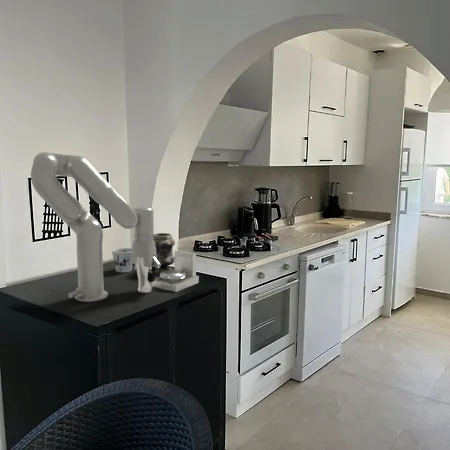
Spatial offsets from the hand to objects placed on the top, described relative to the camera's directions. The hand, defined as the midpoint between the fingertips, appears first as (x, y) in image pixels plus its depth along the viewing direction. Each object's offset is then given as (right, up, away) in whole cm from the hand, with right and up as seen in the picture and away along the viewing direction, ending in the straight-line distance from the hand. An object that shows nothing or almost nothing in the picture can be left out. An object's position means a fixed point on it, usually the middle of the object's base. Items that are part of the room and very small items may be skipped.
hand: (145, 279), depth 190 cm
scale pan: (+11, +1, +8) cm, 14 cm away
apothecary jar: (+3, 0, +32) cm, 32 cm away
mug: (-16, +1, +34) cm, 37 cm away
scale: (+12, -3, +10) cm, 16 cm away
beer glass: (0, -5, +1) cm, 5 cm away
